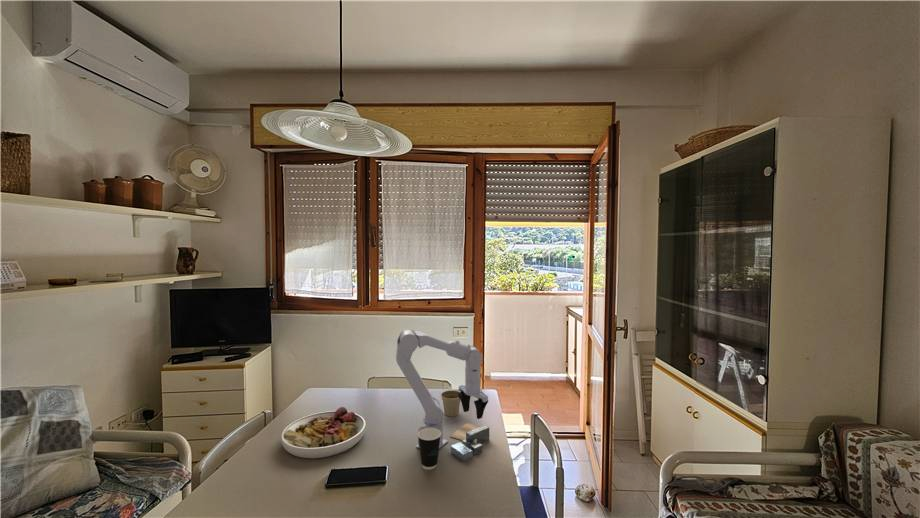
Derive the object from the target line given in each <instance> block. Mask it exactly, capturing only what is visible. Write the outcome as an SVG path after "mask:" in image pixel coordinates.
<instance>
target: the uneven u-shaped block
mask: <svg viewBox="0 0 920 518" xmlns="http://www.w3.org/2000/svg"><path fill="white" fill-rule="evenodd" d="M474 439H477V444H476V445H474ZM488 441H490V427H489V426H488V425H486V424H484V425H480V427H479V428H476V429H474V430H471V431H469V432H466V439H465V440H463V441H462V444H463V445H465V446H466V447H468V448H469V449H471V450H472V455H474V456H476V455H478V454H481V453H483V444H484V443H487V442H488Z"/></svg>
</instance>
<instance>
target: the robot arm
mask: <svg viewBox="0 0 920 518" xmlns="http://www.w3.org/2000/svg"><path fill="white" fill-rule="evenodd" d="M396 341H397V342H396V344H397V345H396V354H395V359H396V363H397V366H398V367H399V369H400V371H401V372H402V373H403V375H404V377H405V379H406V380H407V382H408V384H409V386H410V387H411V388H412V390H413V392H414V394H415V396H416V397H417V399H418V400H419V403H420V404H421V407H422V408H423V410H424V413H425V414H424V416H423V423H422V424H421V426H420V427H419V429H418V430H417V433H418V432H419V431H420V430H422V429H425V428H435V429H438V430H440V431H441V436H440V443H439V449H440V448H442V447H443V446H445V445H446V444H447V443H448V442H449V441H448V440H447V439H444V411H443V410H442V408H441V404H440V401H439V400H438V399H437V398H435V397H434V396H433V394H432V393H431V392H430V391H429V389H428V386H427V385H426V384H425V381H424V380H423V379H422V377H421V375H420V374H419V372H418V370H417V369H416V367H415V365H414V363H413V362H412V356H413V353H414V352H415V351H416V350H417V349H422V348H423V347H426V346H427V347H431V348H434V349H437V350H441V351H445V352H446V355H447V356H448V357H452V358H455V359H457V360H459V361H460V360H461V361H465V367H464V370H465V371H464V373H465V375H464V377H465V379H464V380H465V381H464V382H465V383H464V384H465V385H463V384H461V385H459V386H458V391H459V392H460V393H459V394H458V396H459V398H460V403H461V406H462V411H463V412H464V413H467V412H469V411H470V402H471V397H474V398H476V400H474V401H473V404H474V406H475V412H476V419H478V420H480V419H482V418H483V416H484V411H485V409H486V407H487V405H488V403H489V396H488V395H487V394H486V393H484V392H483V388H481V363H482V361H483V356H482V353H481V351H479V350H478V348H476V347H475V346H474V345H471V344H463V343H462V342H460V340H458V339H455V340H450V341H449V342H448V341H445V340H443V339H440V338H439V337H435V336H433V335H430V334H428V333H425V332H422V331H419V330H413V329H411V328H405V329H403V330H402V331H401V332H400V333H399V336H398V338H397V340H396ZM415 447H416V448H418V449H420V446H419V437H418V436H417V444H416V446H415Z"/></svg>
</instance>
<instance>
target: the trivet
mask: <svg viewBox="0 0 920 518" xmlns="http://www.w3.org/2000/svg"><path fill="white" fill-rule="evenodd" d="M479 427H481V425H475V424H472V423H469V422H466V423H465V424H463V425H462V426H460V428H458V429H457V430H456V431H455V432H453V433H452V434H451V435H450V436H449V437H450V438H451V439H452V438H453V439H456V440H458V441H461V442H463V440H465V439H466V432H469V431H471V430H474V429H476V428H479Z"/></svg>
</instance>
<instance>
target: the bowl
mask: <svg viewBox="0 0 920 518" xmlns="http://www.w3.org/2000/svg"><path fill="white" fill-rule="evenodd" d="M366 424H367V423H366V420H365V418H364V417H363V416H361V415H360V414H357V413H355V412H354V411H348V410H347V408H346V407H344V406H340V407H339V408H337V409H336V410H328V411H322V412H321V411H320V412H317V413H316V412H315V413H312V414H309V415H306V416H302V417H301V418H299V419H296V420H295V421H293V422H291V423H290V424H288V425H287V426H285V428H284V429H283V431H282V432H281V438H280V439H281V444H282V446H283V448H284V449H285V450H286V452H288V453H289V454H291V455H292V456H295V457H298V458H303V459H321V458H328V457H331V456H335V455H338V454H341V453H343V452H346V451H348V450H350V448H351V449H352V448H353V446H355V445H356V444H358V443H359V442H360V441H361V439H362V437H363V436H364V434H365V432H366Z"/></svg>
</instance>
